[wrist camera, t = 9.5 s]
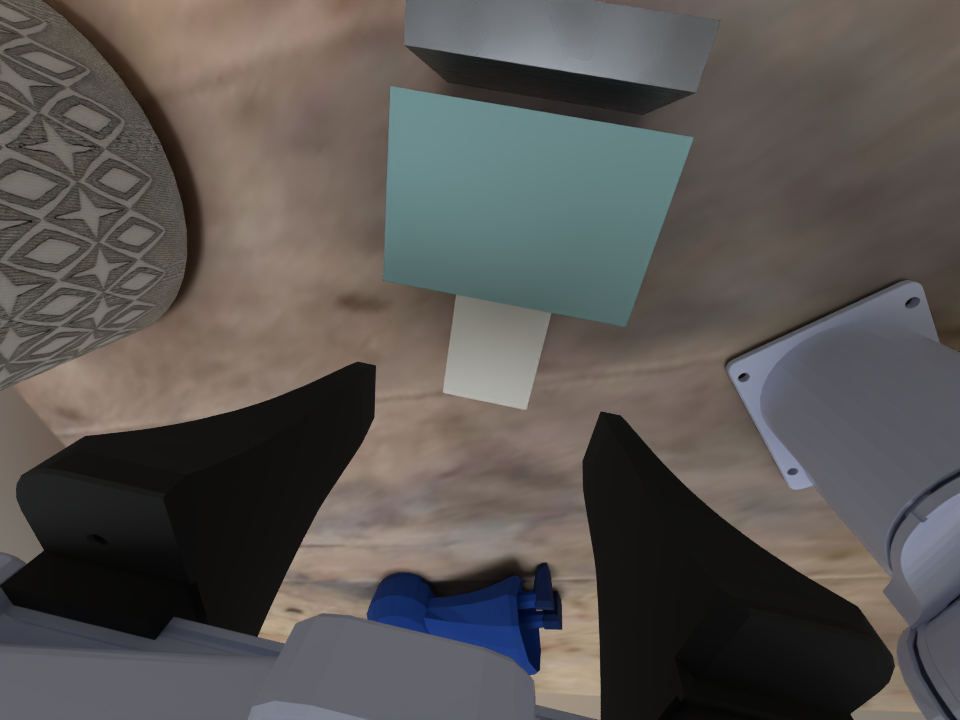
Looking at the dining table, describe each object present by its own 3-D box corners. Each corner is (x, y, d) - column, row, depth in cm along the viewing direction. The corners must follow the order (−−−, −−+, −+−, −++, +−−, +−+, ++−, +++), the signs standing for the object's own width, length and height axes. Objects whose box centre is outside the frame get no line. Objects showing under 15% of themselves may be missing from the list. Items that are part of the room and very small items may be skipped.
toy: (541, 542, 29) (362, 569, 32) (546, 631, 23) (329, 653, 27) (563, 600, 31) (396, 620, 35) (573, 693, 26) (372, 706, 29)
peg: (528, 369, 22) (526, 410, 18) (458, 355, 22) (442, 392, 19) (577, 173, 17) (586, 177, 14) (487, 157, 17) (474, 156, 14)
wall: (642, 114, 16) (696, 92, 10) (447, 82, 16) (403, 44, 11) (656, 69, 15) (720, 20, 10) (452, 36, 15) (407, -29, 10)
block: (603, 284, 19) (625, 327, 14) (421, 250, 19) (383, 280, 15) (647, 143, 16) (693, 137, 11) (433, 107, 16) (390, 86, 12)
